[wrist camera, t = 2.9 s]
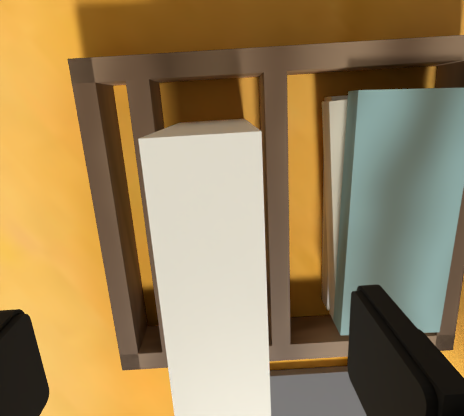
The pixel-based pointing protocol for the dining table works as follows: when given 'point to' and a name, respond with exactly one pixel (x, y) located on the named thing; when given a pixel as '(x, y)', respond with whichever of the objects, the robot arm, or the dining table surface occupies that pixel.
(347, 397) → the rubber mat
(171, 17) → the dining table surface
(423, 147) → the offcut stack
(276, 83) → the walnut rack
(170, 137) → the white rectangular block
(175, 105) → the dining table surface
